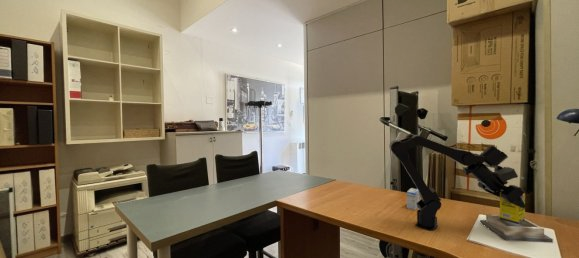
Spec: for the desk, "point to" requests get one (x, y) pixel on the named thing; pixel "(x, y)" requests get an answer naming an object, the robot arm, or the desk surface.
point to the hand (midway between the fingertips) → (516, 203)
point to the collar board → (515, 229)
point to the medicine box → (412, 198)
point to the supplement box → (512, 211)
